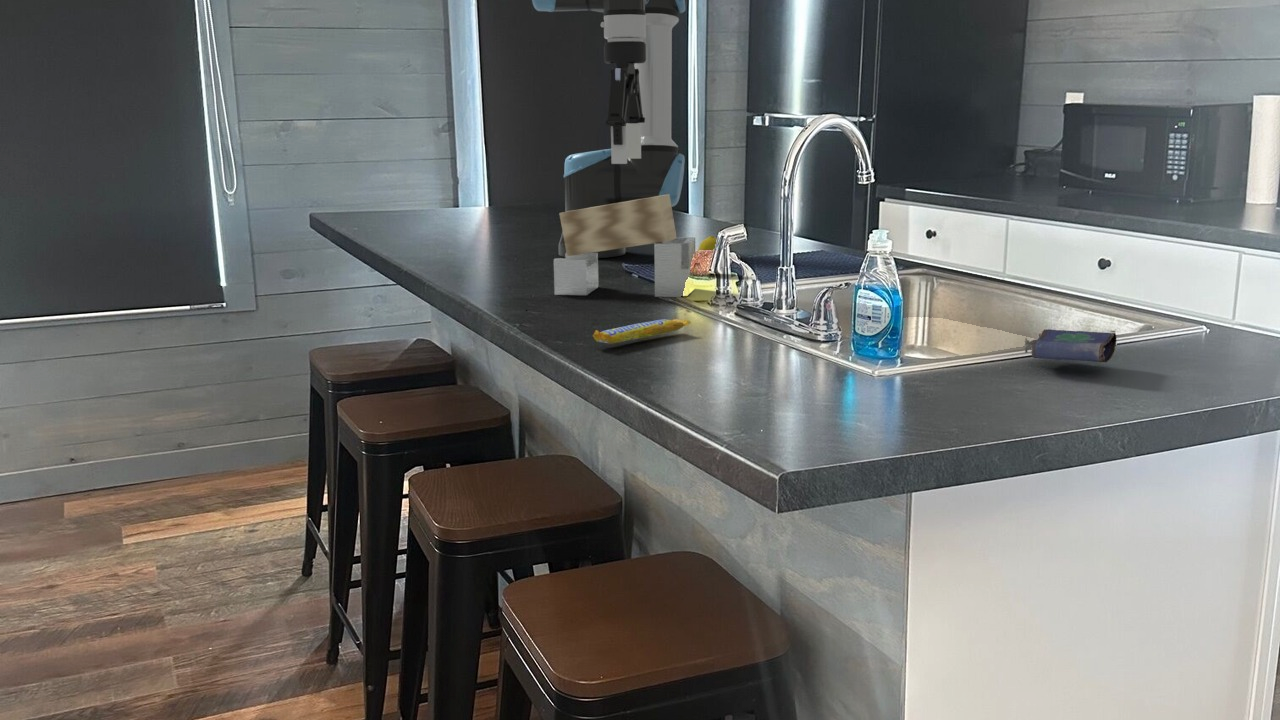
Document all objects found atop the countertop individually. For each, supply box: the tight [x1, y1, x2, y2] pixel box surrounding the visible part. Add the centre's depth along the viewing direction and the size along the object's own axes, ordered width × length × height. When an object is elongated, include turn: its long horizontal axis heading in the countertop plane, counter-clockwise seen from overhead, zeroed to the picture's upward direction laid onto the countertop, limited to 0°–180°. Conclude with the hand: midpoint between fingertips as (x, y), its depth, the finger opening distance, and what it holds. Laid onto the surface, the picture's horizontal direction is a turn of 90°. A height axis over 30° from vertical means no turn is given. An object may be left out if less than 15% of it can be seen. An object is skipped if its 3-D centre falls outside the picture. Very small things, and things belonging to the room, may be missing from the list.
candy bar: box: [592, 318, 692, 344], centre depth 165 cm, size 17×4×2 cm, turn 130°
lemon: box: [697, 235, 718, 252], centre depth 221 cm, size 6×6×8 cm
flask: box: [1024, 328, 1117, 363], centre depth 144 cm, size 9×3×11 cm
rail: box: [558, 194, 677, 256], centre depth 201 cm, size 20×5×8 cm, turn 67°
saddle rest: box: [553, 253, 599, 296], centre depth 204 cm, size 10×6×6 cm, turn 170°
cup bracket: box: [653, 236, 696, 298], centre depth 201 cm, size 10×6×10 cm, turn 170°
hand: (626, 161), depth 203 cm, fingers open, 13 cm apart
